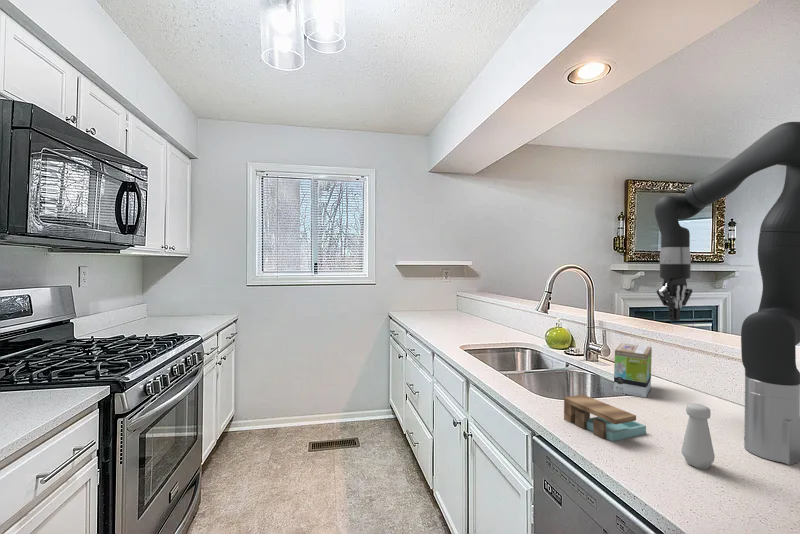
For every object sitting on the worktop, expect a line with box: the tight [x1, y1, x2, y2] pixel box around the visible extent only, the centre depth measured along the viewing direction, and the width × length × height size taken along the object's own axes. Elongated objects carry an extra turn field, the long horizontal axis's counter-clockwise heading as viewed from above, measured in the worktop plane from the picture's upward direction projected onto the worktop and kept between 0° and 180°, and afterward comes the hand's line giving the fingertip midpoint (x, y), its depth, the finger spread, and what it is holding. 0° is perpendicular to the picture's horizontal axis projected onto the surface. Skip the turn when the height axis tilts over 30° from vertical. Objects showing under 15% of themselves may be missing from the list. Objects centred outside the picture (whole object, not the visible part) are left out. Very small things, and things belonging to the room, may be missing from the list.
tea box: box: [613, 343, 653, 399], centre depth 135 cm, size 15×10×15 cm, turn 143°
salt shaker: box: [681, 403, 715, 470], centre depth 84 cm, size 6×6×13 cm
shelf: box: [563, 394, 637, 440], centre depth 102 cm, size 16×7×6 cm, turn 21°
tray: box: [586, 416, 647, 442], centre depth 102 cm, size 9×12×2 cm
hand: (674, 320), depth 115 cm, fingers closed
